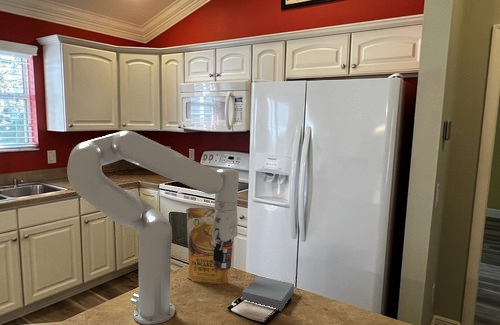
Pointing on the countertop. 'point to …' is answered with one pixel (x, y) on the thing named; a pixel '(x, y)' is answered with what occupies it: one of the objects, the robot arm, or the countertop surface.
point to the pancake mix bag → (202, 247)
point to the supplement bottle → (225, 257)
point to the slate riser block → (269, 292)
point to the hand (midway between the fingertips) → (222, 257)
